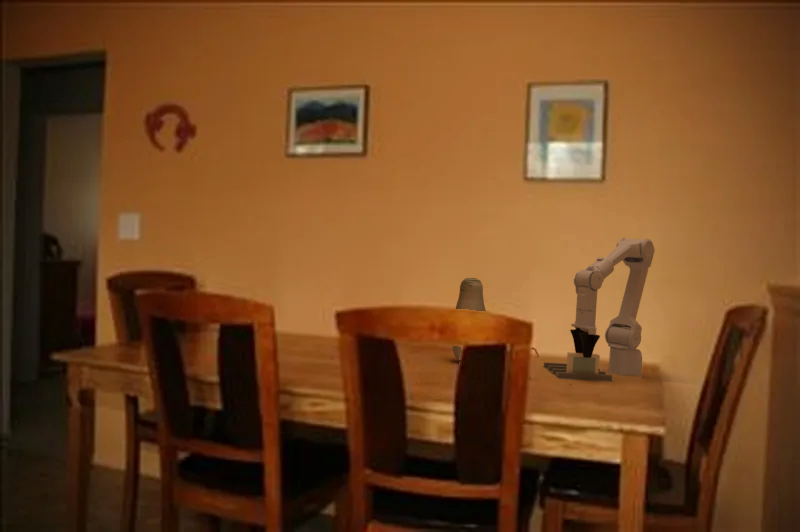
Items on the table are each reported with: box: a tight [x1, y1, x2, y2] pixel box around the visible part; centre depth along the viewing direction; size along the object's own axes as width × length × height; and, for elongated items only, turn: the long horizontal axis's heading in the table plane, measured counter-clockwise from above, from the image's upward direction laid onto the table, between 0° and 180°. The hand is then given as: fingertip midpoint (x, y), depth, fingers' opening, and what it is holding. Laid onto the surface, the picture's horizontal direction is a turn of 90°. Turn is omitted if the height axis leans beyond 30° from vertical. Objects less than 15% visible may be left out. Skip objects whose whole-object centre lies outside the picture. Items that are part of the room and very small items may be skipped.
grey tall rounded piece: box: [452, 277, 487, 361], centre depth 207 cm, size 10×10×28 cm
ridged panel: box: [542, 361, 614, 383], centre depth 194 cm, size 16×20×2 cm
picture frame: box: [566, 352, 601, 374], centre depth 188 cm, size 9×2×7 cm, turn 91°
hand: (583, 355), depth 188 cm, fingers open, 7 cm apart
